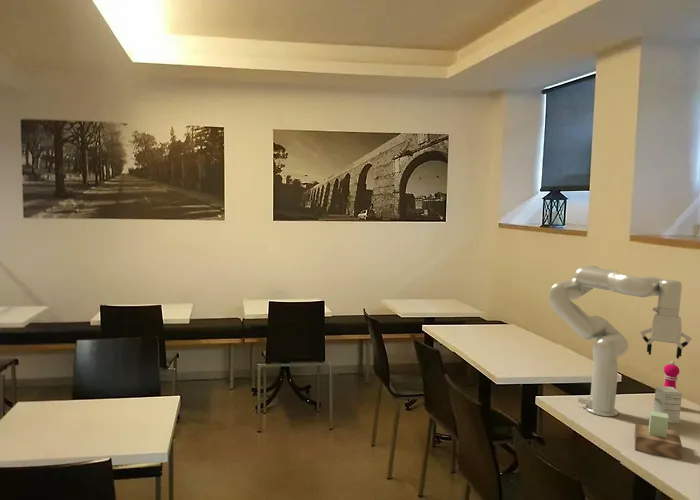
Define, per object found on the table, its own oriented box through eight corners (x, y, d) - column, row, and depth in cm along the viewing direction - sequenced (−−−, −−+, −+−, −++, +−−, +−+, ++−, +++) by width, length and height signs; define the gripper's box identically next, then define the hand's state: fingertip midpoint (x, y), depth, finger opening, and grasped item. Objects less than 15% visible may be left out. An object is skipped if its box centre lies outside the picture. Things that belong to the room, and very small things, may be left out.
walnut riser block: (634, 450, 213) (636, 436, 212) (634, 436, 226) (635, 423, 225) (680, 459, 207) (681, 444, 207) (676, 444, 220) (678, 431, 220)
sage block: (649, 434, 215) (651, 415, 214) (648, 429, 220) (650, 410, 219) (666, 437, 212) (668, 418, 212) (665, 432, 217) (667, 413, 217)
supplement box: (652, 415, 251) (655, 385, 250) (670, 416, 251) (673, 386, 250) (660, 422, 244) (663, 391, 243) (679, 423, 243) (682, 392, 242)
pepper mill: (680, 409, 261) (685, 363, 259) (663, 408, 261) (668, 362, 259) (672, 403, 268) (676, 359, 267) (655, 402, 268) (660, 358, 267)
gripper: (643, 310, 233) (638, 354, 235) (694, 316, 226) (689, 361, 228) (642, 308, 240) (638, 350, 242) (692, 313, 233) (688, 357, 235)
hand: (663, 356), depth 235 cm, fingers open, 9 cm apart
